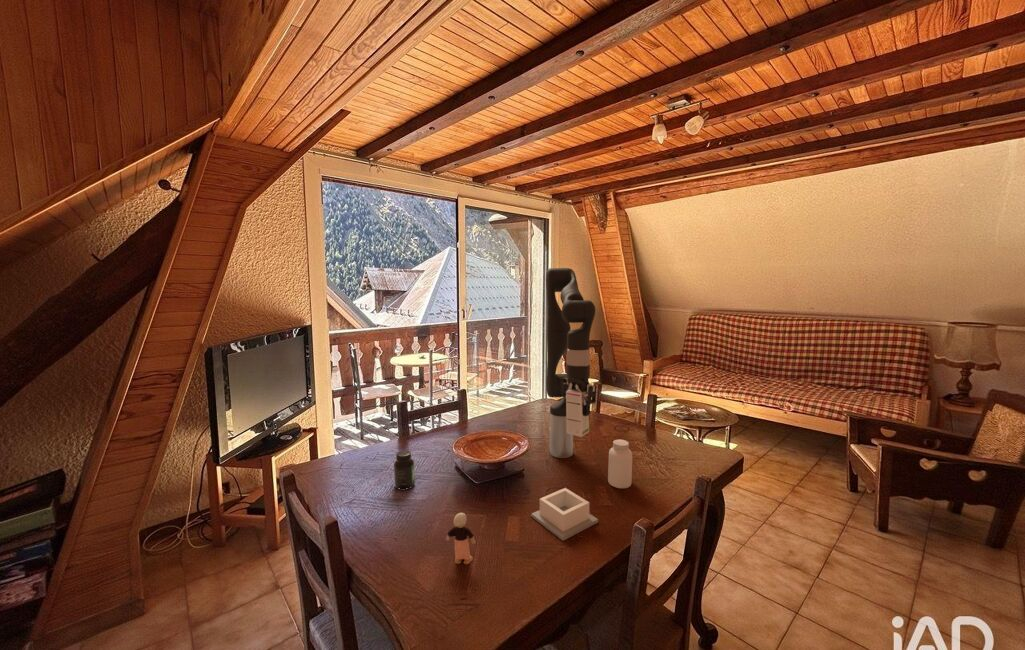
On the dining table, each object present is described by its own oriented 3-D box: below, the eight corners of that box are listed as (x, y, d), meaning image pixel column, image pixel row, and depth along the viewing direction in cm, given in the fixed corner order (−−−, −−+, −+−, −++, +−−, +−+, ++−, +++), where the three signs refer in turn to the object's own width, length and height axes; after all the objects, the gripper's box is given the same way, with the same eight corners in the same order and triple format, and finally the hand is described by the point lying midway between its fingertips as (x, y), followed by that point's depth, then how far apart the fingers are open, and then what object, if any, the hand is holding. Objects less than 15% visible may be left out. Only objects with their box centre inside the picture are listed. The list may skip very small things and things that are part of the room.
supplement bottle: (419, 485, 141) (417, 452, 140) (401, 493, 136) (400, 459, 135) (408, 479, 146) (406, 447, 144) (391, 486, 141) (389, 453, 139)
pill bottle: (632, 490, 136) (633, 447, 134) (608, 488, 137) (609, 446, 136) (630, 478, 144) (631, 438, 142) (607, 476, 145) (608, 436, 143)
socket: (531, 516, 122) (531, 498, 121) (565, 501, 130) (565, 483, 129) (562, 540, 110) (562, 520, 110) (598, 522, 118) (598, 503, 118)
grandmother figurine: (476, 554, 105) (475, 509, 104) (476, 564, 102) (474, 517, 100) (447, 555, 105) (445, 509, 104) (445, 565, 101) (443, 518, 100)
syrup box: (582, 437, 128) (582, 393, 126) (565, 433, 131) (565, 390, 130) (590, 431, 132) (590, 388, 131) (574, 428, 136) (574, 386, 134)
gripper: (554, 360, 133) (554, 409, 135) (586, 367, 121) (586, 421, 123) (571, 357, 137) (571, 405, 139) (603, 364, 126) (602, 416, 127)
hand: (578, 412), depth 131 cm, fingers closed on syrup box, 6 cm apart
